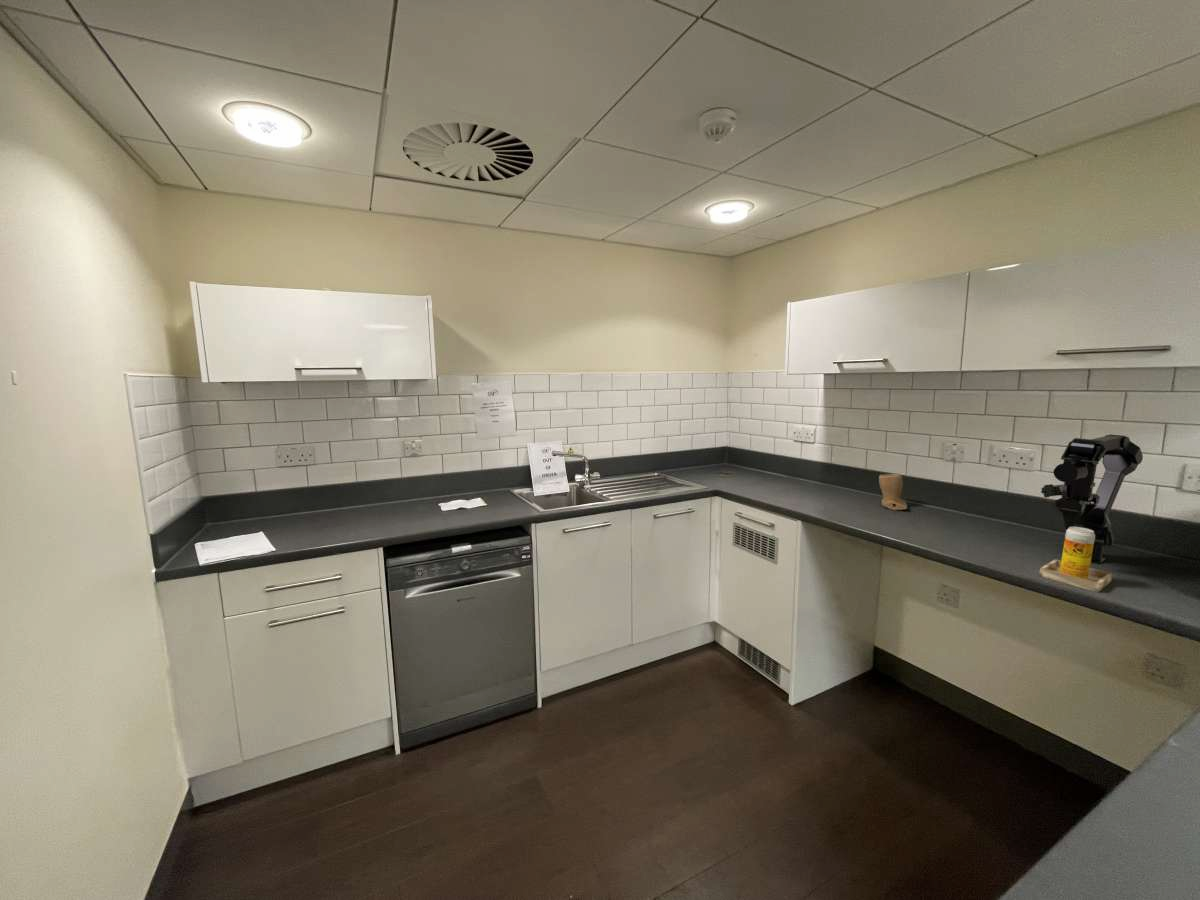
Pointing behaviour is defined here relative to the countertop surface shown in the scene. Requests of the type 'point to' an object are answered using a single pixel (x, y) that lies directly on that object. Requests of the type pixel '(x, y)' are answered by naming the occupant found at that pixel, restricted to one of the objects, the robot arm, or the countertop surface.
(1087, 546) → the yellow orange canister
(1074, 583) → the holder tray
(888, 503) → the tan boot
